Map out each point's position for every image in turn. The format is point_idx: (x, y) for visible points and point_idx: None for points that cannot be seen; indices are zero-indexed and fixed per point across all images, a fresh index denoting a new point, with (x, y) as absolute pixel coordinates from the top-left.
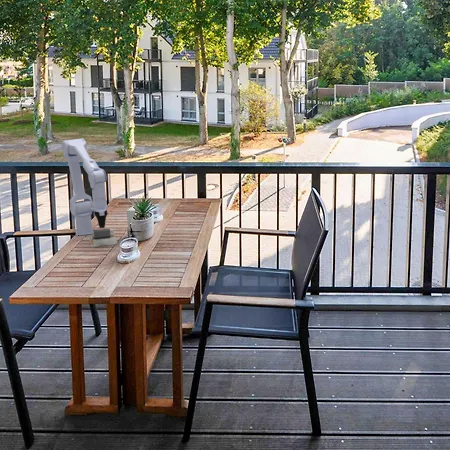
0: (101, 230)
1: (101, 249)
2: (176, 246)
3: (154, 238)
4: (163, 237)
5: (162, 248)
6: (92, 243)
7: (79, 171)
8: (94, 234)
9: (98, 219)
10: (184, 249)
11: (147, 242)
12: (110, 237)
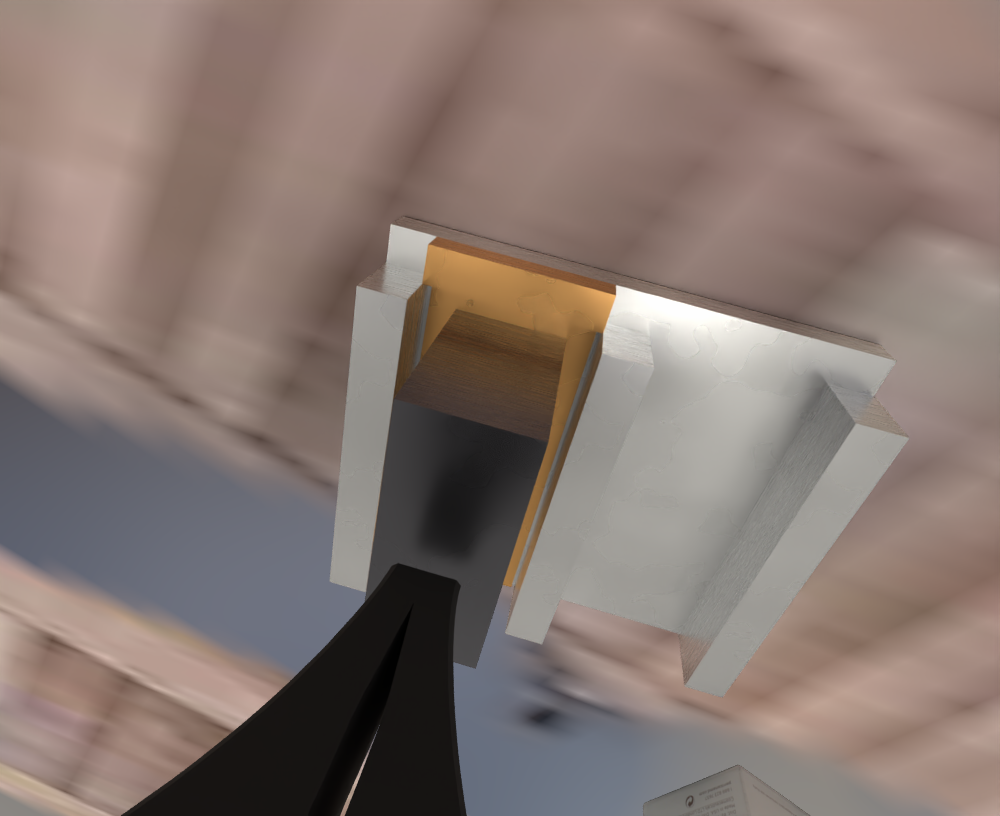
0: (421, 543)
1: (227, 297)
2: (110, 757)
3: None
4: None
5: (87, 694)
6: (432, 260)
7: None
8: (410, 378)
9: (216, 761)
10: (33, 751)
11: None
12: (373, 537)
